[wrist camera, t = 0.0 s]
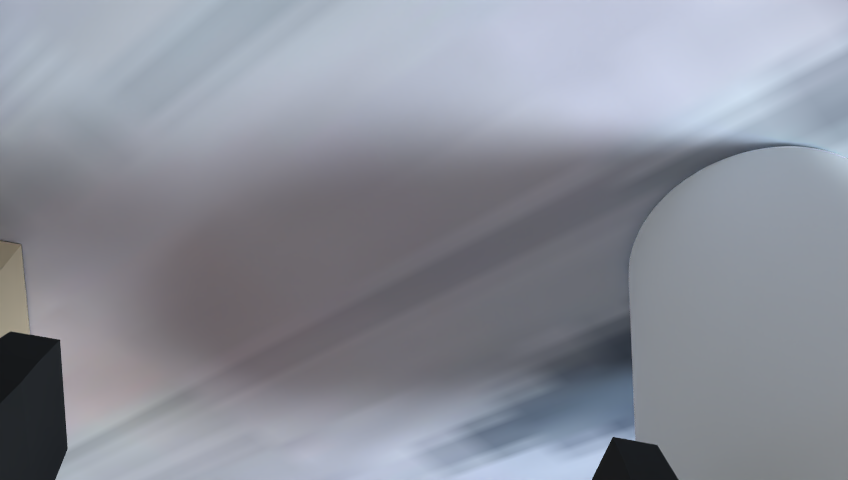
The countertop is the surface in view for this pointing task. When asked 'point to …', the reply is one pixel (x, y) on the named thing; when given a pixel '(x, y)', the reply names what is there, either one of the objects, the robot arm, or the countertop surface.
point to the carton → (12, 290)
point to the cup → (746, 319)
